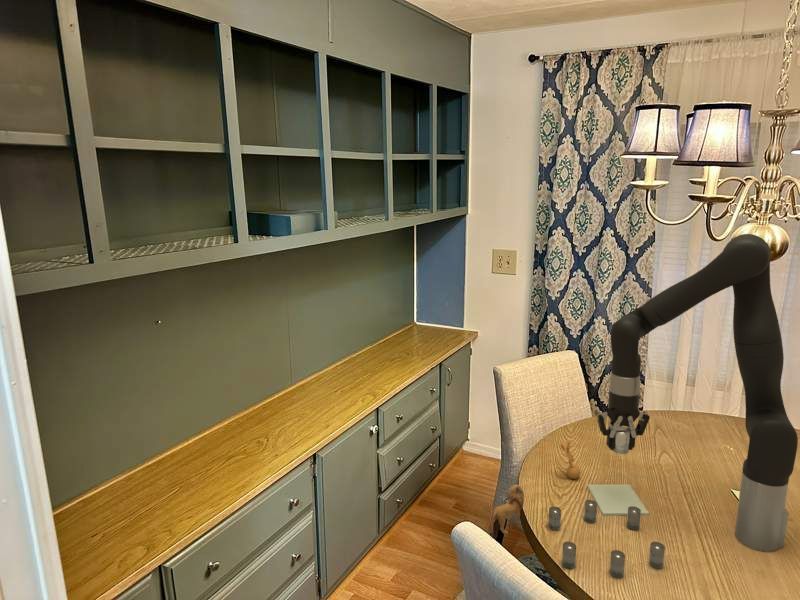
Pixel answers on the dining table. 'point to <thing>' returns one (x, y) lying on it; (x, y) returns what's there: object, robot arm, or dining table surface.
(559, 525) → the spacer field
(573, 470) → the figurine
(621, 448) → the clear rounded cylinder
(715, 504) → the dining table surface
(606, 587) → the dining table surface
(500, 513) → the lion figurine
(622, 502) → the sage mat
